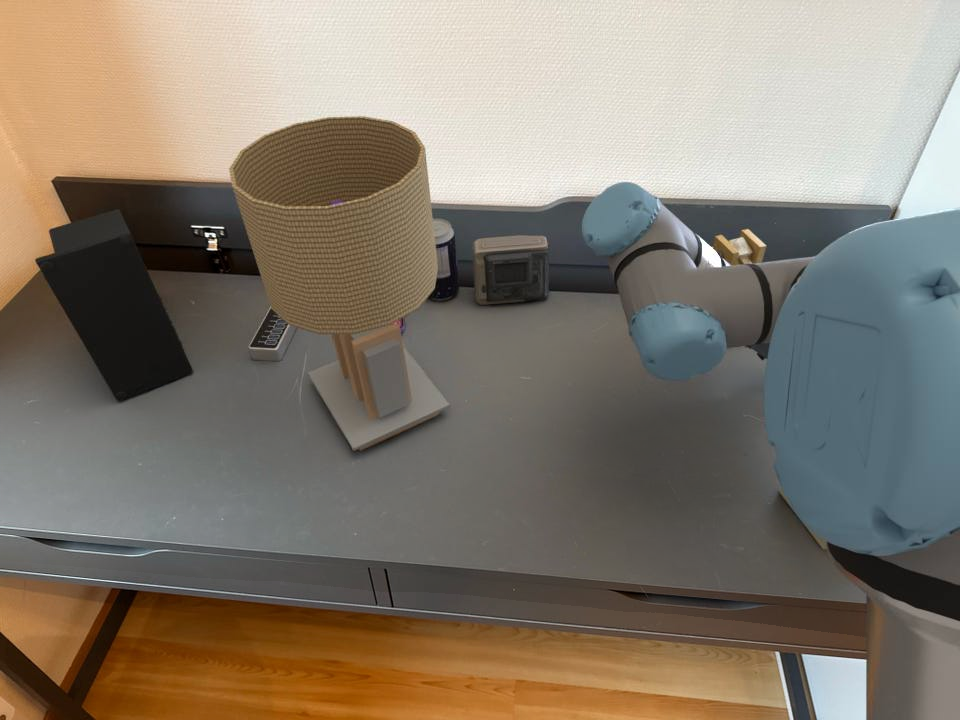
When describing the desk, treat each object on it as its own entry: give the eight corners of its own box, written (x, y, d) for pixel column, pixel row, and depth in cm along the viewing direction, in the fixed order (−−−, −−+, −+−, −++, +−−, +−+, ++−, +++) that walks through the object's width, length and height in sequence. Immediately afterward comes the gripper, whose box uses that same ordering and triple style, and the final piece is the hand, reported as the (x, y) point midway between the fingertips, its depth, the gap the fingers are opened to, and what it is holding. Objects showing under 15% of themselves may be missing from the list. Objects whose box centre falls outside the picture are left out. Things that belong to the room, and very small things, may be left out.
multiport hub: (251, 359, 102) (247, 348, 100) (284, 297, 112) (281, 286, 111) (280, 361, 101) (276, 349, 100) (311, 299, 112) (308, 287, 110)
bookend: (89, 315, 111) (14, 181, 95) (158, 291, 115) (98, 158, 99) (117, 405, 96) (34, 264, 80) (195, 374, 100) (132, 233, 84)
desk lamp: (478, 416, 92) (460, 169, 68) (339, 481, 85) (264, 233, 61) (411, 334, 104) (376, 101, 80) (285, 385, 97) (205, 148, 73)
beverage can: (466, 294, 111) (461, 229, 102) (435, 308, 108) (428, 242, 100) (447, 277, 114) (440, 212, 106) (417, 290, 112) (408, 225, 104)
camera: (546, 283, 112) (547, 229, 105) (550, 306, 107) (551, 251, 101) (474, 288, 112) (471, 234, 105) (475, 310, 107) (471, 256, 101)
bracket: (777, 331, 101) (802, 251, 91) (702, 351, 98) (720, 271, 89) (738, 291, 108) (758, 213, 98) (667, 309, 106) (681, 230, 96)
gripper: (636, 268, 83) (734, 342, 97) (700, 344, 73) (799, 414, 87) (683, 220, 80) (777, 303, 95) (756, 292, 70) (849, 373, 84)
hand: (787, 356), depth 91 cm, fingers closed on lever, 1 cm apart
